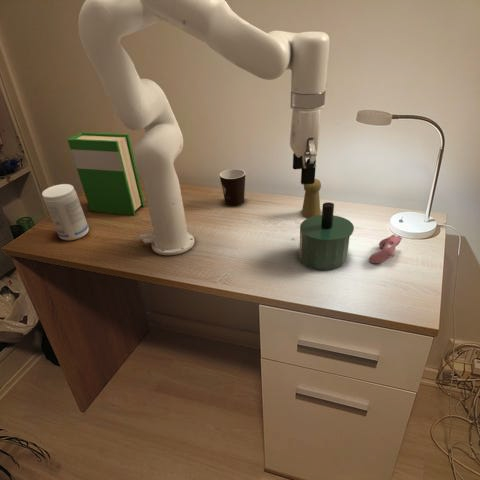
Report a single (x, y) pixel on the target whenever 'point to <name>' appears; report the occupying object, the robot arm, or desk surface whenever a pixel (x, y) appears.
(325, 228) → the tin lid
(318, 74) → the robot arm
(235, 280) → the desk surface
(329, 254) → the tin
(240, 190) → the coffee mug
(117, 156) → the hardback book
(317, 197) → the olive pawn figure
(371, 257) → the pink toy animal
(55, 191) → the supplement tub
